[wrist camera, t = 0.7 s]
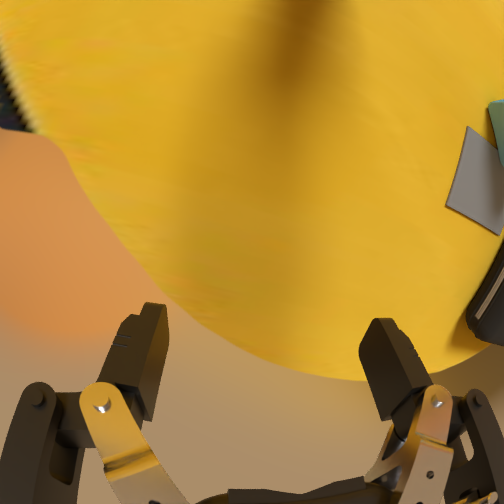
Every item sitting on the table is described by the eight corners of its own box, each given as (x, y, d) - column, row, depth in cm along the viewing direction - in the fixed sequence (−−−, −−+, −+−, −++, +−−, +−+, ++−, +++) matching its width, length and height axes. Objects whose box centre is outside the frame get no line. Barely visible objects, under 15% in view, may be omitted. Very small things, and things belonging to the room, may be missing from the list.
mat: (467, 125, 29) (468, 126, 29) (518, 170, 31) (519, 171, 30) (445, 204, 35) (446, 205, 34) (498, 234, 36) (499, 235, 36)
